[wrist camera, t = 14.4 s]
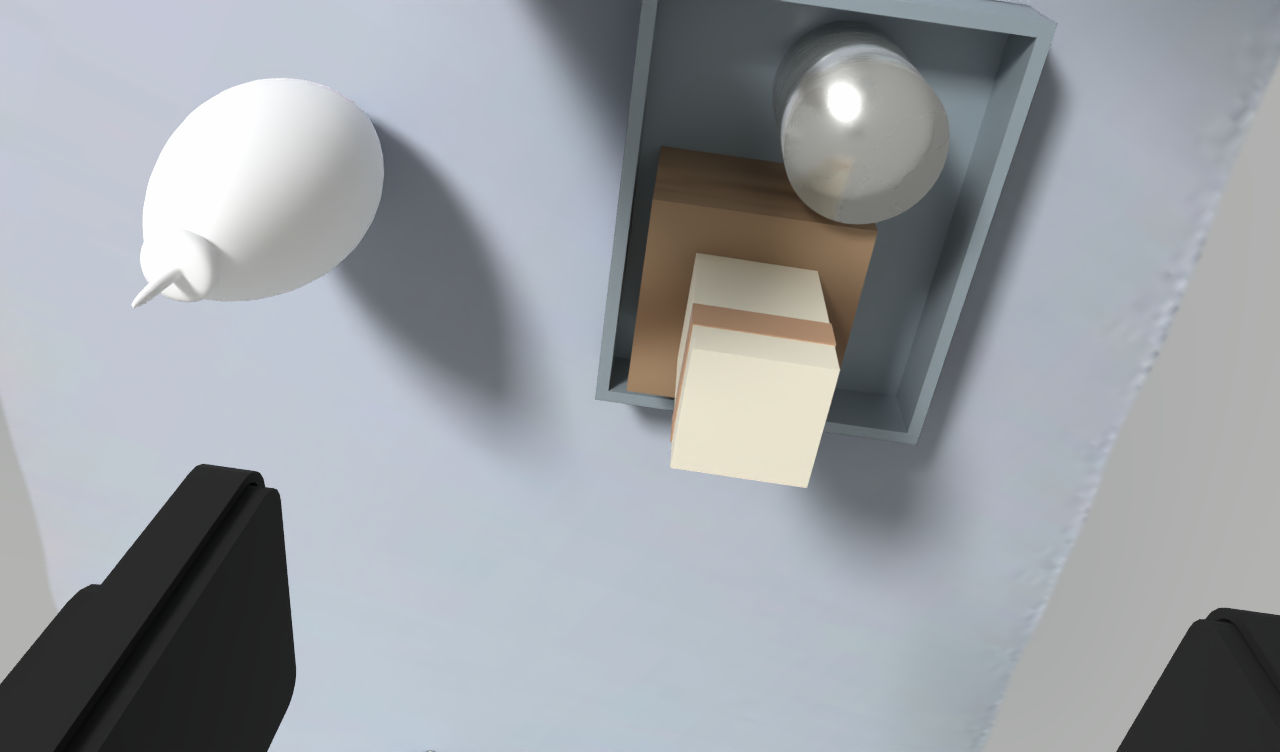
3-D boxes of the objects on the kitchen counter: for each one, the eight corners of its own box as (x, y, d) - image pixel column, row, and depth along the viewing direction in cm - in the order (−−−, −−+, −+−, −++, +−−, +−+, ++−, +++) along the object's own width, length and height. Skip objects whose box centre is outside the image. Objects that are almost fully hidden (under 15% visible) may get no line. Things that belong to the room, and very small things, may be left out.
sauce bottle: (409, 228, 47) (261, 431, 32) (252, 198, 47) (26, 387, 32) (418, 70, 43) (253, 214, 28) (247, 35, 43) (-16, 162, 28)
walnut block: (661, 145, 44) (652, 199, 38) (855, 173, 44) (877, 231, 38) (637, 318, 48) (626, 390, 42) (813, 343, 48) (827, 419, 42)
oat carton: (695, 251, 39) (690, 346, 32) (819, 270, 39) (841, 369, 32) (676, 359, 41) (668, 468, 34) (792, 376, 41) (808, 489, 34)
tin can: (786, 11, 40) (801, 52, 33) (926, 31, 40) (970, 76, 33) (760, 149, 43) (769, 212, 37) (890, 167, 43) (924, 234, 37)
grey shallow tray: (652, -49, 40) (646, -36, 37) (1028, 5, 40) (1057, 23, 37) (603, 359, 50) (594, 399, 47) (902, 401, 50) (916, 444, 47)
